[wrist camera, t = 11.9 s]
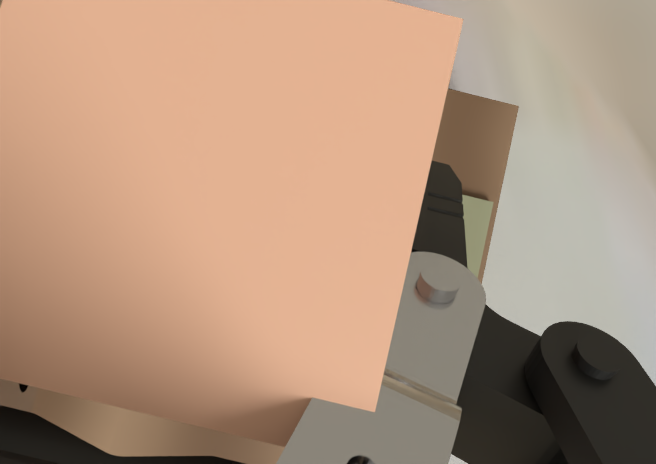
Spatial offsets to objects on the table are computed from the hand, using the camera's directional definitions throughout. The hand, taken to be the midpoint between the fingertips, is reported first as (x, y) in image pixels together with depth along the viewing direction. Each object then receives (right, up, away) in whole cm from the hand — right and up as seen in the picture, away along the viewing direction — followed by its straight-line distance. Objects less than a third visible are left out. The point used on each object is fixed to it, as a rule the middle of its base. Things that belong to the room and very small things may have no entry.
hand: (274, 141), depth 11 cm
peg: (-1, -2, +4) cm, 5 cm away
